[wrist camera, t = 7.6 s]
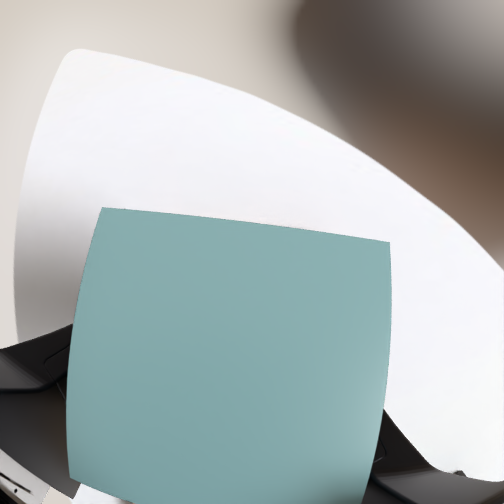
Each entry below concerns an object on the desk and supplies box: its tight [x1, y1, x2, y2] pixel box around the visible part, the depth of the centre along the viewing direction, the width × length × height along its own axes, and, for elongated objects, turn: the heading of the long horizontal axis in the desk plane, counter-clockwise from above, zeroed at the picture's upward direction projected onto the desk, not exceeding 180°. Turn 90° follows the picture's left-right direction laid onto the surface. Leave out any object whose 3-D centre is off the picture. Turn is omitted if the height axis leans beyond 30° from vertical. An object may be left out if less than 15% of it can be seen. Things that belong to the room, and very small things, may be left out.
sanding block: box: [66, 207, 391, 504], centre depth 9 cm, size 7×6×12 cm
